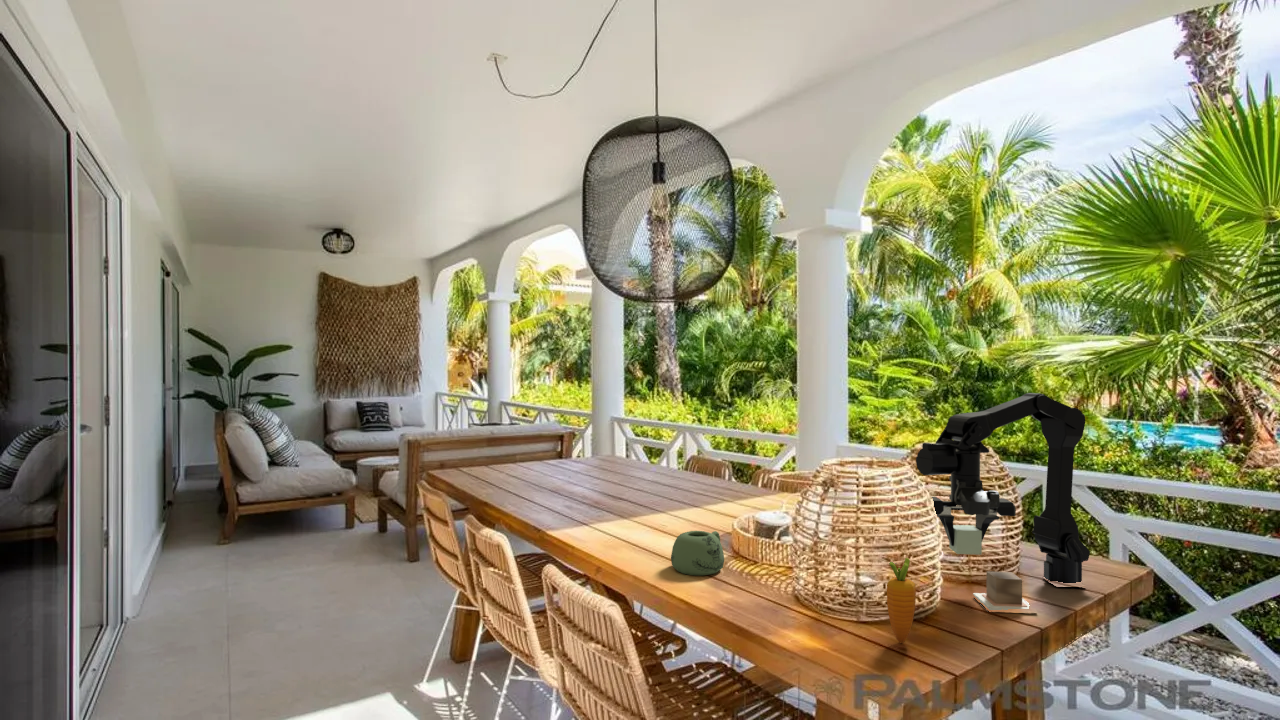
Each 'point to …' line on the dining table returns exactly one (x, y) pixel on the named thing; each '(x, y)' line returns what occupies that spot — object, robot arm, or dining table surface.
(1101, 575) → the dining table surface
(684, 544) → the green animal planter
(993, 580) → the walnut block
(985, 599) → the bordered square coaster
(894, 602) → the carrot
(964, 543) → the sage block
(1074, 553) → the robot arm
